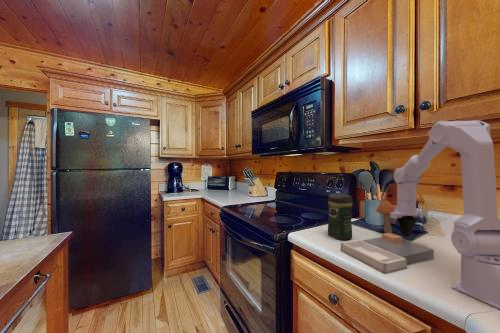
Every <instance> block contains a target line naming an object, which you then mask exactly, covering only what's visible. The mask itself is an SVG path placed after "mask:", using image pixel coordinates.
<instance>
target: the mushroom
mask: <svg viewBox="0 0 500 333" xmlns="http://www.w3.org/2000/svg"><path fill="white" fill-rule="evenodd" d="M395 209H397V207H395V206H394V205H393V204H392V203H391V202H390V201H388V200H384V201H382V202H381V203H380V204H379V205H378V206H377V208H376V213H379V214H381V215H383V220H384V221H383V222H384V224H383V232H384V234H385V233H392V232H393V230H392V225H391V222H390V213H391V212H394V210H395Z"/></svg>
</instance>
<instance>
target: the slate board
mask: <svg viewBox="0 0 500 333" xmlns="http://www.w3.org/2000/svg"><path fill="white" fill-rule="evenodd" d="M362 241H365V242H367V243H369V244H372V245H374V246H377V247H379V248H381V249H384V250H386V251H389V252H391V253H394V254H396V255H398V256H401V257H403V258H406V259H407V266H408V265H409V266H410V265H414V264H417V263H421V262H424V261H429V260H434V258H435V253H434V252H435V250H434V248H430V247H428V246H426V245H425V246H424V245H422V244H419V243H415V242H412V241H409V240H406V239H404V238H402V242H401V243H396V244H393V243H390V242H387V241H385V240H382V236H380V237H374V238H368V239H363V240H362Z"/></svg>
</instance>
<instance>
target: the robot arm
mask: <svg viewBox="0 0 500 333" xmlns="http://www.w3.org/2000/svg"><path fill="white" fill-rule="evenodd" d="M446 148H451V149H452V150H454V151H456V152H457V153H459V155H460V165H461V166H460V167H461V168H460V169H461V185H462V202H463V203H462V204H463V214H462V216H460V217H458V219H456V220H455V221H454V222H453V230H452V233H451V236H450V239H451V243H452V245H453V247H454V248H455V250H456V251H457V253H459V254H460V282H458V283H455V284H452V286H451V287H452V288H453V289H455V290H456V291H459V292H461V293H463V294H465V295H468V296H470V297H471V298H475V300H479V301H480V302H484V303H486V304H487V305H490V306H492V307H494V308H497V309H499V310H500V218H499V209H498V197H497V181H496V180H497V179H496V167H495V166H496V164H495V151H494V150H495V149H494V142H493V140H492V138H491V125H490V124H489V123H487V122H484V121H482V120H479V119H477V120H476V119H472V120H456V121H455V120H454V121H453V120H451V121H450V120H449V121H445V120H439V121H437V122H436V123H434V125H433V126H432V127H431V129H430V130H429V132H428V140H427V142H425V145H424V146H423V148H422V149H421V151H420V152H419V153H418V154H414V155H412V156H411V157H410V158H409V159H408V161H407V162H406V163H405V164H404V165H403V166H402V167H400V168H399V167H398V168H396V169H395V170H394V173H393V179H394V181H395V183H396V209H395V210H394V212H391V213H390V214H389V219H390V218H391V219H394V220H396V221H397V223H398V225H399V229H400V232H401V235H402V236H404V237H411V235H412V231H413V229H414V227H415V224H416V223H417V222H418V220H419V218H418V217H419V216H422V210H421V209H417V189H418V188H419V183H420V181H421V175H422V174H423V173H425V171H426V170H427V169H428V168H430V167H431V160H432V159H433V158H435V157H436V156H437V155H438V154H439V153H441V151H443V150H444V149H446ZM417 216H418V217H417Z"/></svg>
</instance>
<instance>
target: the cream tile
mask: <svg viewBox="0 0 500 333" xmlns="http://www.w3.org/2000/svg"><path fill="white" fill-rule="evenodd" d="M367 255H369V256H372V257H374V258H376V259H378V260H380V261H382V262H389V261H390V258H388V257H386V256H383V255H381V254H379V253H377V252H374V253H369V254H367Z"/></svg>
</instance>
